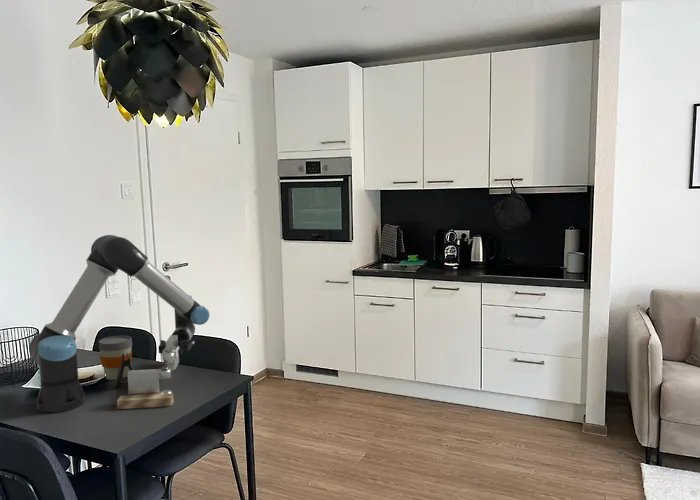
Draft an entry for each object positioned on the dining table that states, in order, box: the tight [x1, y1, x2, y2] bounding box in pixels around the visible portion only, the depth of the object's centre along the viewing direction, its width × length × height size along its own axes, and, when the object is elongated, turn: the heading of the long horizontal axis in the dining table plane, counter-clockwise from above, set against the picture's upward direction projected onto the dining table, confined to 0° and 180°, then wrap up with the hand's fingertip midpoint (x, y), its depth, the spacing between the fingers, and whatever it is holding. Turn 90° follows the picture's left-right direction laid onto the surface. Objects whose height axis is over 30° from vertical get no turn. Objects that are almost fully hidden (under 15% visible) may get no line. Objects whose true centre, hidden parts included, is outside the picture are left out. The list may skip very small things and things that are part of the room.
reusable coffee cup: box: [98, 335, 133, 380], centre depth 218 cm, size 12×13×15 cm
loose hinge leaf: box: [162, 334, 180, 371], centre depth 203 cm, size 4×14×11 cm, turn 7°
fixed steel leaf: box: [127, 366, 173, 396], centre depth 192 cm, size 14×4×12 cm, turn 97°
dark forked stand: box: [114, 353, 135, 390], centre depth 208 cm, size 9×6×12 cm, turn 114°
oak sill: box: [116, 392, 175, 410], centre depth 189 cm, size 18×4×3 cm, turn 97°
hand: (169, 355), depth 199 cm, fingers closed on loose hinge leaf, 4 cm apart
